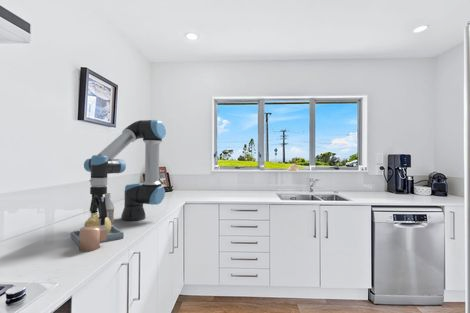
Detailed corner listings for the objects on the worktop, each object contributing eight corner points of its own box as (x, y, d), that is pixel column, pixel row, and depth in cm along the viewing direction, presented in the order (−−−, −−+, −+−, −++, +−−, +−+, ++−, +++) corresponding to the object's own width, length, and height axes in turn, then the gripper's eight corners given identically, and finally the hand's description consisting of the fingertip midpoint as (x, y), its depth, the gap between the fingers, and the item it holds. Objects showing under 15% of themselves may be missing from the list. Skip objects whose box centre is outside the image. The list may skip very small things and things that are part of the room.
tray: (112, 231, 149) (112, 225, 149) (123, 238, 137) (123, 232, 137) (70, 237, 136) (70, 231, 136) (78, 246, 124) (78, 239, 124)
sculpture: (89, 233, 141) (89, 212, 141) (113, 232, 143) (114, 212, 143) (80, 239, 130) (81, 217, 130) (107, 239, 132) (107, 216, 132)
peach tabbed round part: (77, 247, 122) (77, 227, 122) (103, 243, 129) (103, 224, 129) (81, 252, 116) (82, 231, 116) (108, 247, 123) (109, 227, 123)
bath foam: (113, 230, 152) (114, 194, 152) (99, 231, 149) (100, 194, 149) (113, 227, 158) (114, 192, 158) (99, 228, 155) (100, 192, 155)
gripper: (83, 184, 143) (82, 224, 143) (98, 189, 125) (96, 235, 125) (99, 183, 148) (98, 222, 148) (115, 188, 130) (113, 232, 130)
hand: (97, 228), depth 137 cm, fingers open, 13 cm apart
